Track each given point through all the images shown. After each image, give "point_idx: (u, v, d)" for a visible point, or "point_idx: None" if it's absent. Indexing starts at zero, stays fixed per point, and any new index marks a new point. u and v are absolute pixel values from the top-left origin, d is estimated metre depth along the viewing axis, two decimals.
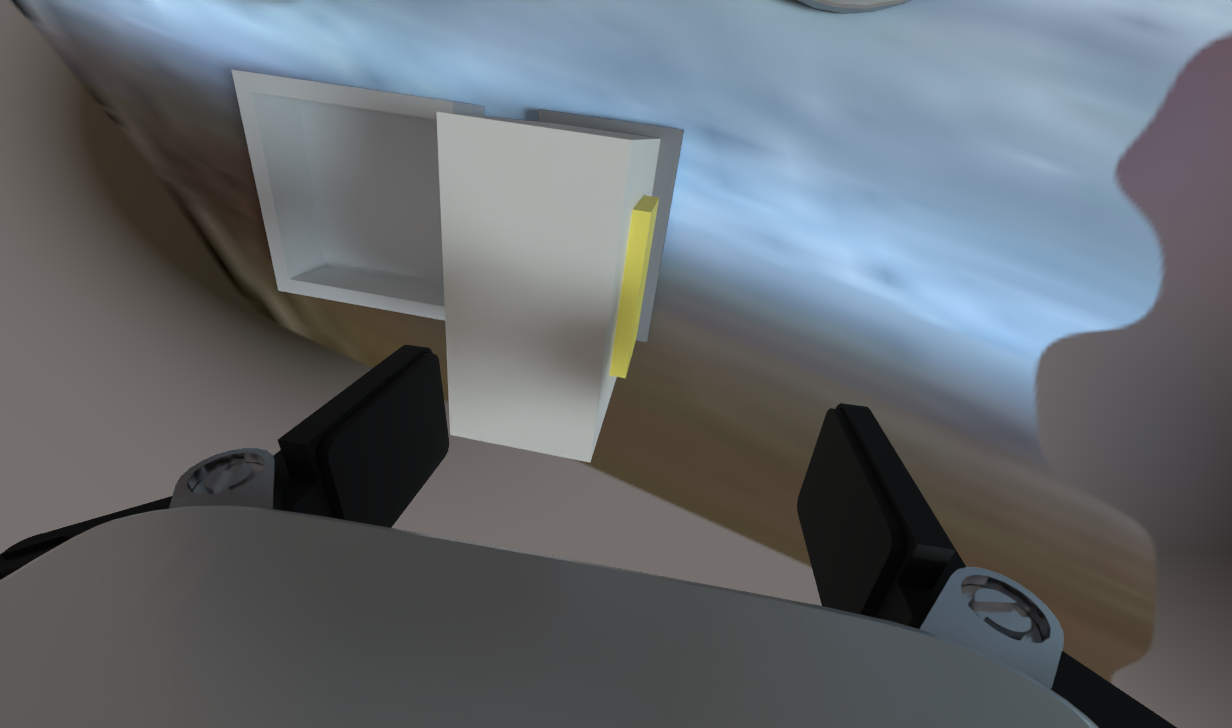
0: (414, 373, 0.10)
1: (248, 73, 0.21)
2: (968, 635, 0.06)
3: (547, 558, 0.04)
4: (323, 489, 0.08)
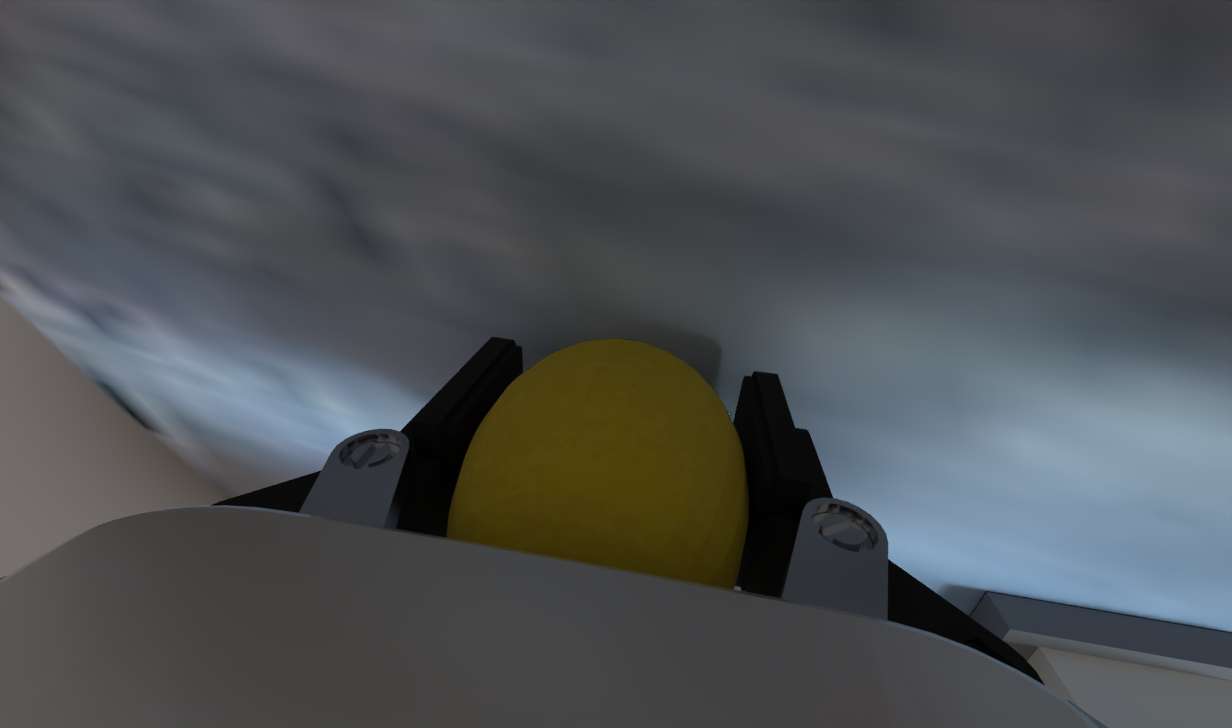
0: (507, 363, 0.11)
1: None
2: (824, 560, 0.06)
3: (547, 558, 0.04)
4: (445, 467, 0.09)
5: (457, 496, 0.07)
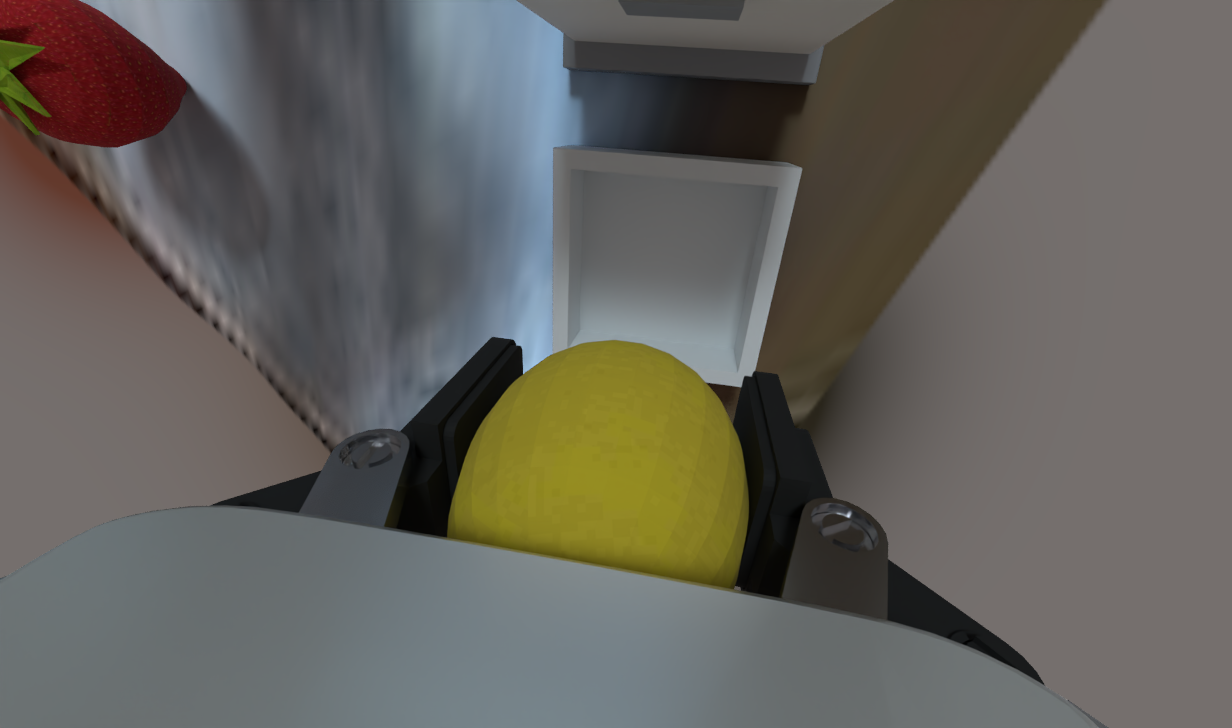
0: (507, 363, 0.11)
1: (553, 348, 0.25)
2: (824, 560, 0.06)
3: (547, 558, 0.04)
4: (445, 467, 0.09)
5: (457, 498, 0.07)
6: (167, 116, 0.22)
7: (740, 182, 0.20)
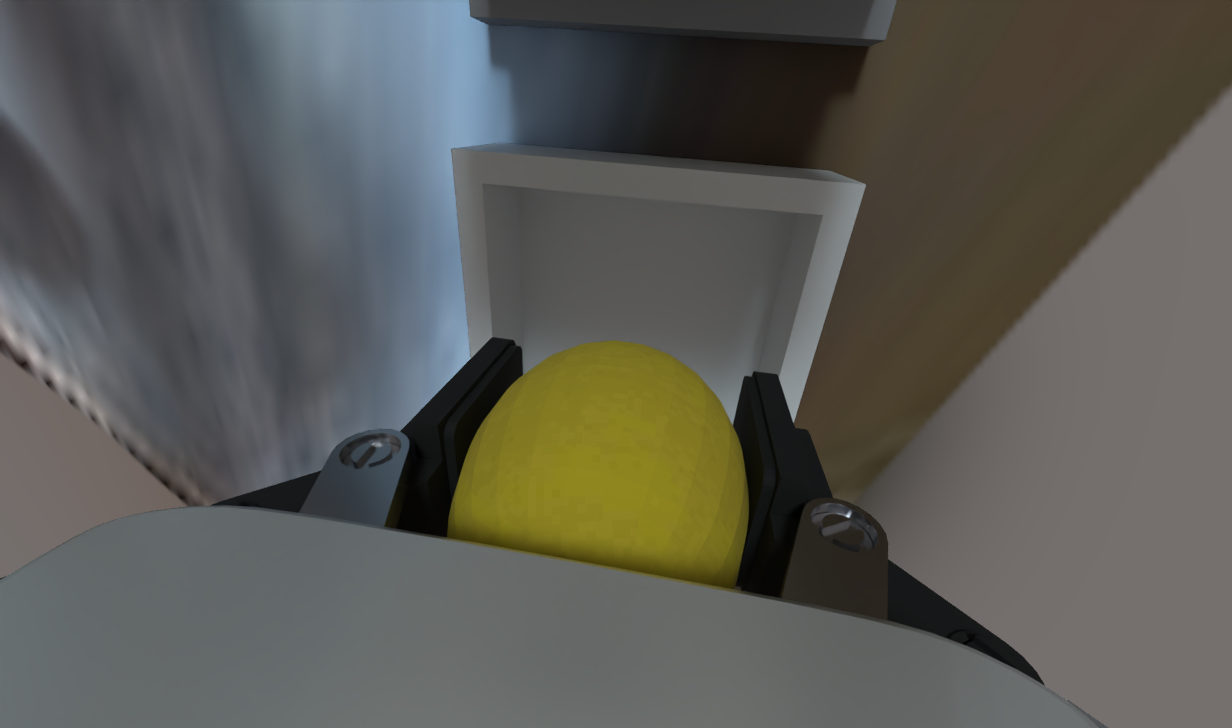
0: (507, 363, 0.11)
1: None
2: (824, 560, 0.06)
3: (547, 558, 0.04)
4: (445, 467, 0.09)
5: (457, 498, 0.07)
6: None
7: (759, 207, 0.12)
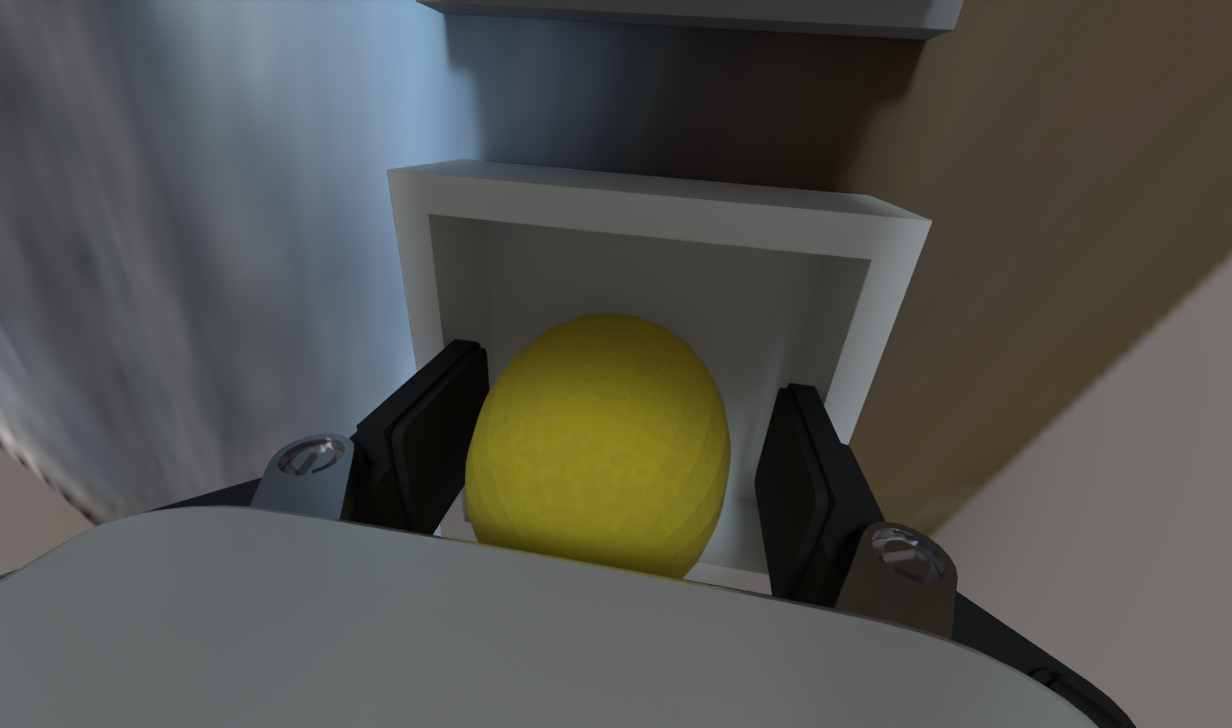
0: (468, 365, 0.10)
1: None
2: (883, 586, 0.06)
3: (547, 558, 0.04)
4: (395, 473, 0.08)
5: (474, 445, 0.08)
6: None
7: (787, 248, 0.09)
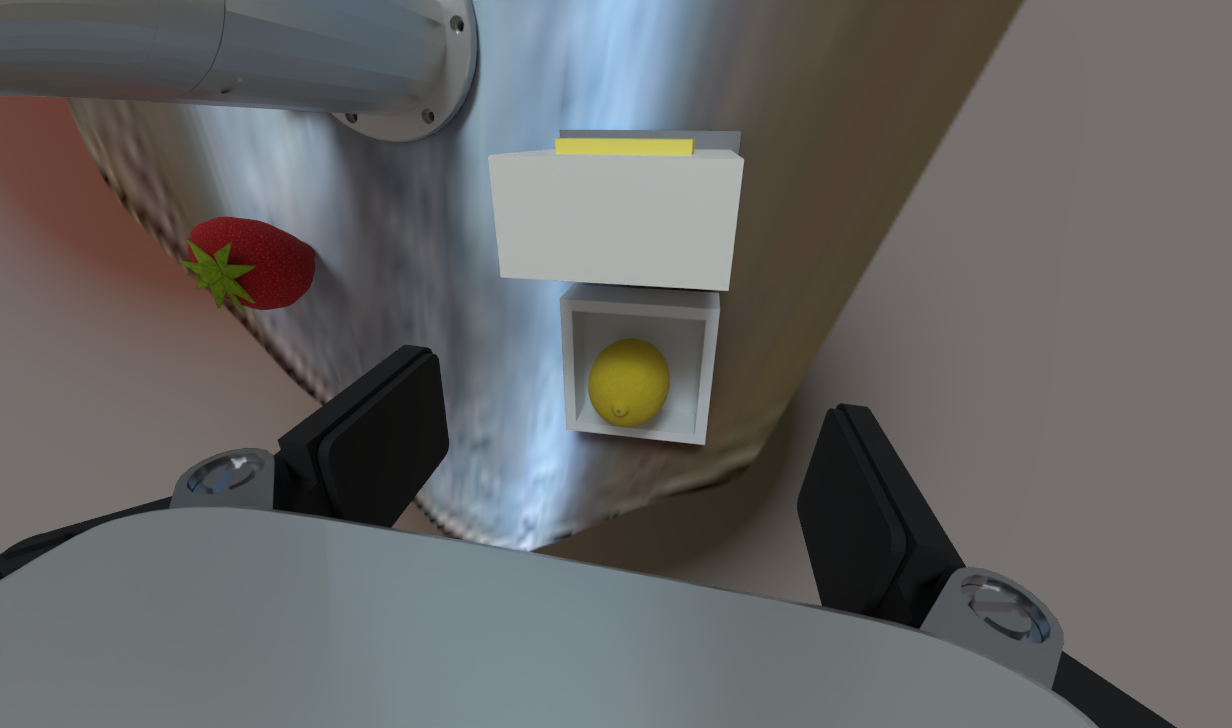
0: (414, 373, 0.10)
1: (566, 420, 0.36)
2: (968, 635, 0.06)
3: (547, 558, 0.04)
4: (323, 489, 0.08)
5: (592, 377, 0.30)
6: None
7: (681, 317, 0.30)
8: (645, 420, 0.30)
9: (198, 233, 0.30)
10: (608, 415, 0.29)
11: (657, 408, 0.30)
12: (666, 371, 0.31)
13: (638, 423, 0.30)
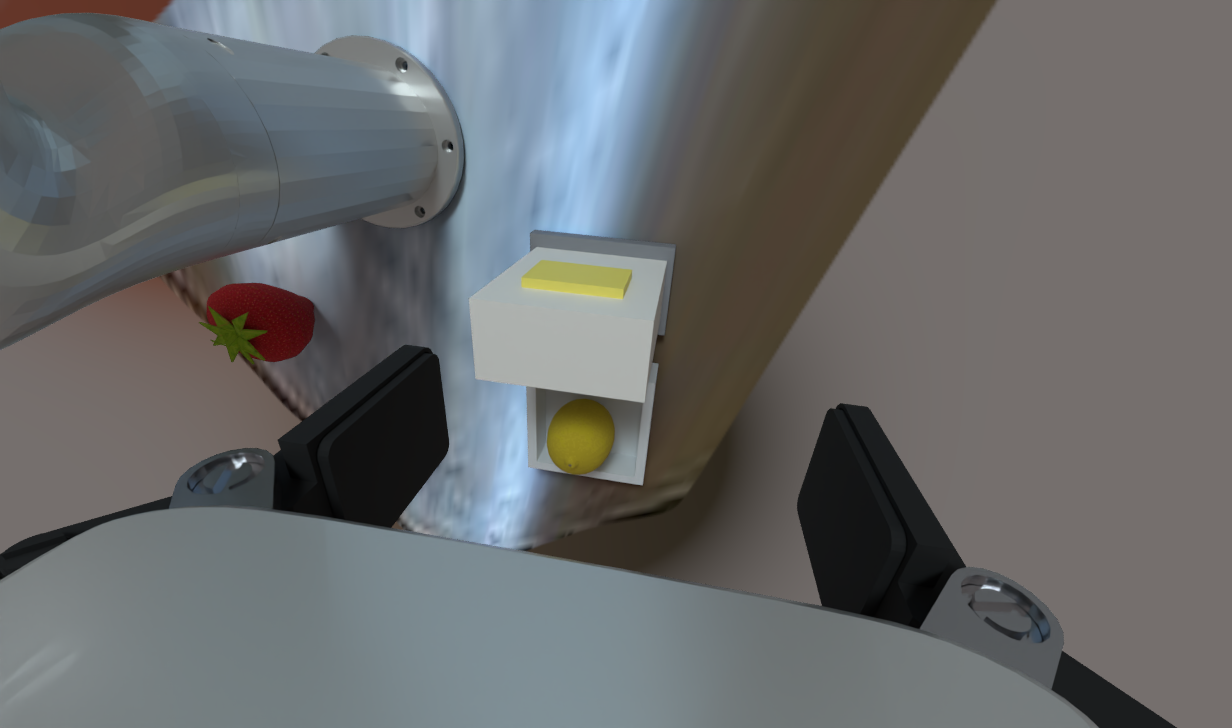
0: (414, 373, 0.10)
1: (529, 460, 0.42)
2: (968, 635, 0.06)
3: (547, 558, 0.04)
4: (323, 489, 0.08)
5: (550, 434, 0.37)
6: None
7: None
8: (592, 470, 0.37)
9: (217, 300, 0.35)
10: (561, 467, 0.36)
11: (602, 461, 0.37)
12: (611, 429, 0.38)
13: (586, 472, 0.37)
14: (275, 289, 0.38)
